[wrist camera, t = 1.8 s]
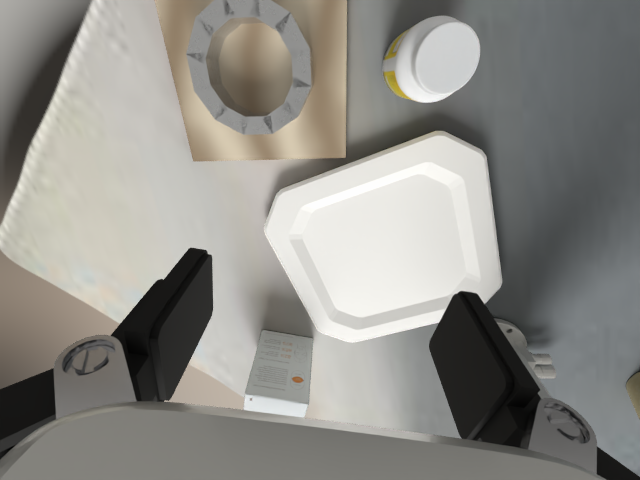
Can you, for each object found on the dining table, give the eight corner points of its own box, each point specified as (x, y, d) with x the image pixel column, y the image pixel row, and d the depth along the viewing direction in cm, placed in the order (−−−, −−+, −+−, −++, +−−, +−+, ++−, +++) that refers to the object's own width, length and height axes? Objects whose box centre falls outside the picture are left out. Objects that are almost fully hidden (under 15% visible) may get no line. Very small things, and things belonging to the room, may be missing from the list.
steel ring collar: (310, -2, 24) (307, -12, 21) (315, 127, 29) (313, 132, 26) (190, 4, 25) (173, -4, 22) (215, 130, 30) (203, 136, 27)
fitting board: (346, -49, 24) (347, -54, 22) (345, 155, 31) (345, 157, 30) (152, -37, 24) (144, -42, 23) (198, 158, 32) (193, 161, 31)
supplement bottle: (435, 98, 28) (478, 108, 20) (378, 97, 29) (397, 106, 20) (448, 29, 26) (504, 6, 17) (385, 28, 26) (410, 5, 17)
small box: (258, 352, 47) (239, 420, 38) (262, 328, 44) (243, 394, 35) (307, 361, 47) (301, 430, 38) (314, 337, 45) (309, 405, 36)
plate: (472, 111, 29) (482, 114, 27) (498, 296, 40) (506, 308, 38) (251, 195, 34) (246, 202, 32) (327, 338, 45) (327, 350, 43)
